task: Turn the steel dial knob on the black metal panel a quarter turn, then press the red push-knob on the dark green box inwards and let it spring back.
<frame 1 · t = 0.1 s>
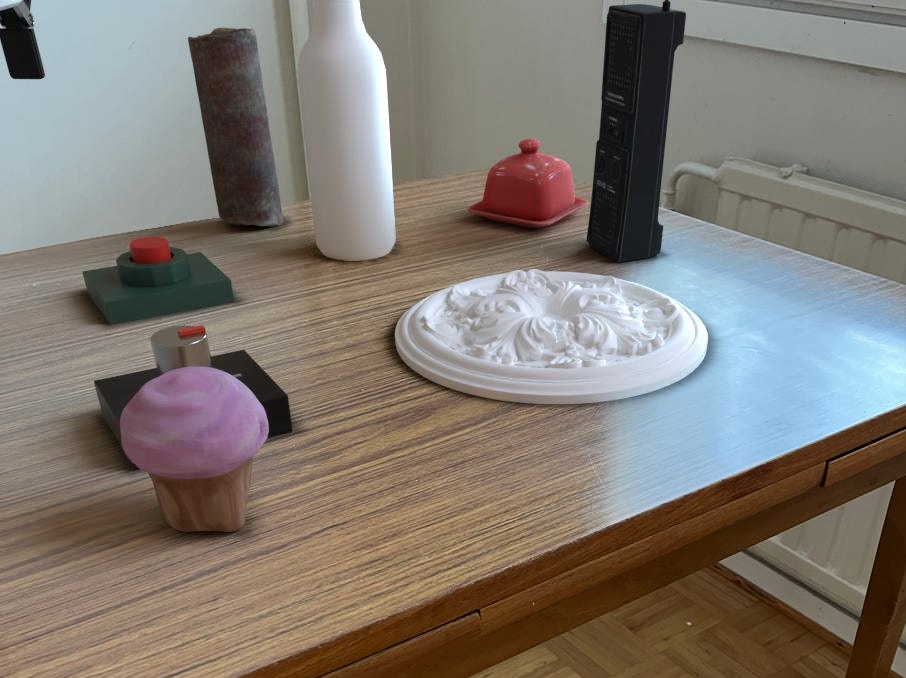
hand: (4, 88, 88), 18 cm above the table, tool pointing down, fingers open, 9 cm apart
cupcake: (214, 519, 65), on the table
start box: (160, 297, 97), on the table
white bottle: (356, 251, 109), on the table
candle: (251, 226, 116), on the table
portable radio: (619, 252, 108), on the table
dial: (183, 359, 72), point 5 cm above the table, hinge at 0.0°
dial panel: (196, 424, 76), on the table
butter dish: (528, 218, 118), on the table
button: (150, 251, 94), point 4 cm above the table, slide at 0.1 cm
ceiling medallion: (549, 338, 89), on the table
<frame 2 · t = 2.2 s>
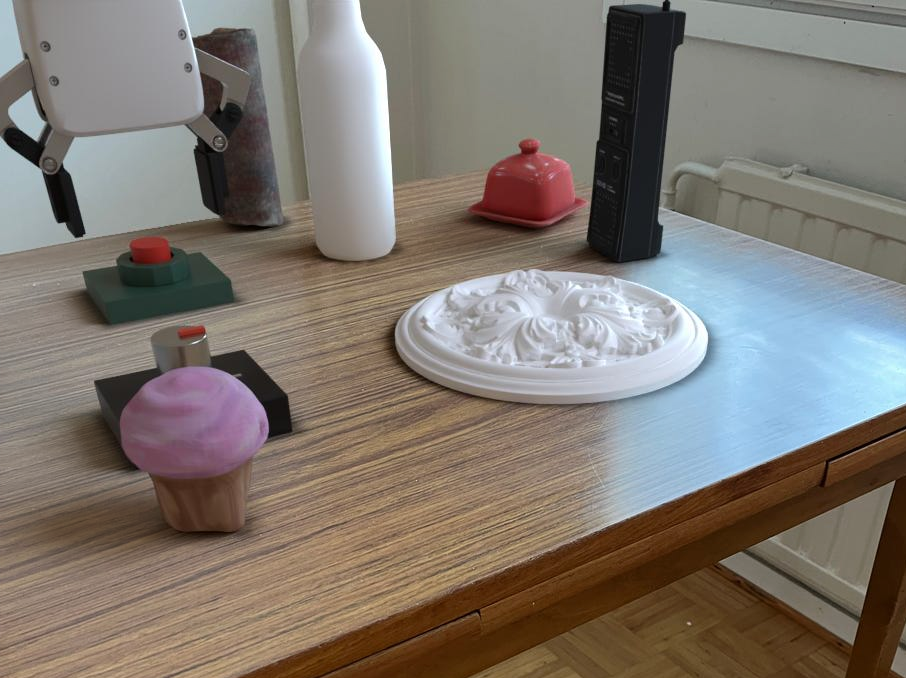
hand: (147, 221, 68), 14 cm above the table, tool pointing down, fingers open, 9 cm apart
nothing on the table moved.
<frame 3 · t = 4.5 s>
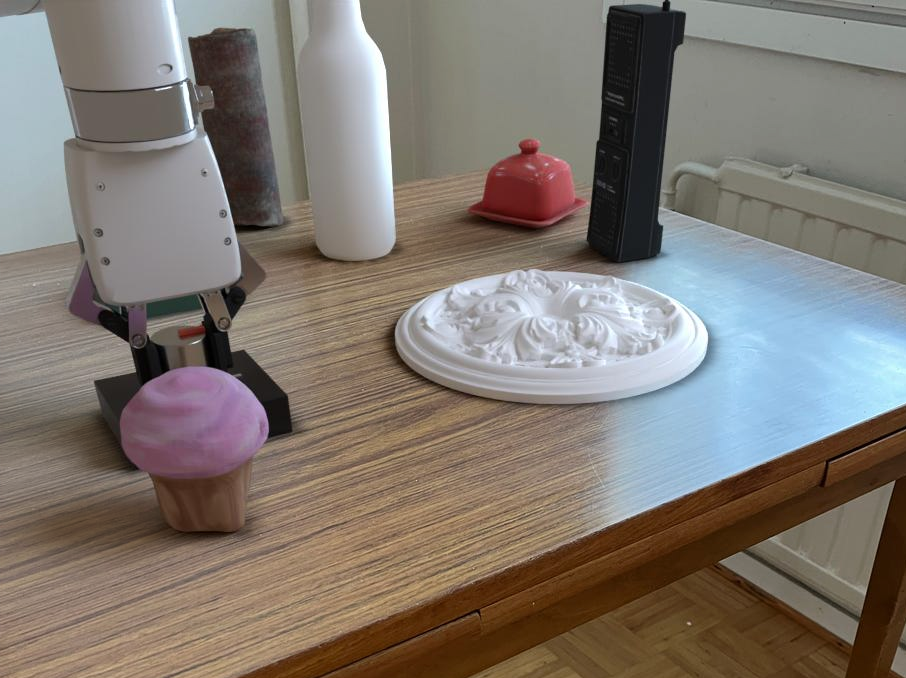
hand: (188, 383, 73), 3 cm above the table, tool pointing down, fingers closed on dial, 4 cm apart
dial: (183, 359, 72), point 5 cm above the table, hinge at 0.1°, touching gripper
everything else where it was.
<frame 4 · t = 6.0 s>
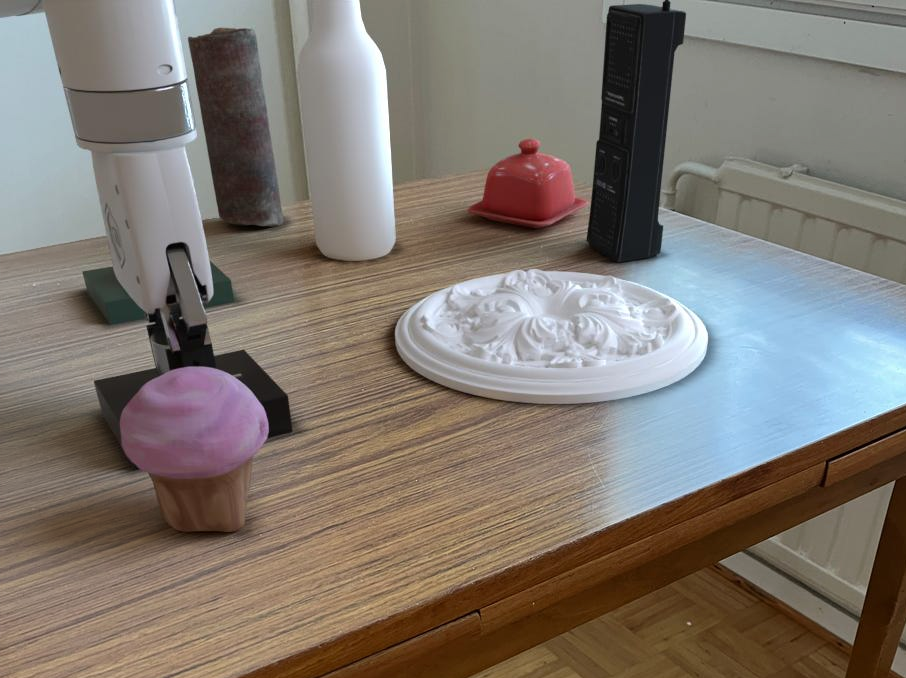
hand: (188, 383, 73), 3 cm above the table, tool pointing down, fingers open, 4 cm apart
dial: (183, 359, 72), point 5 cm above the table, hinge at 91.5°
everything else where it was.
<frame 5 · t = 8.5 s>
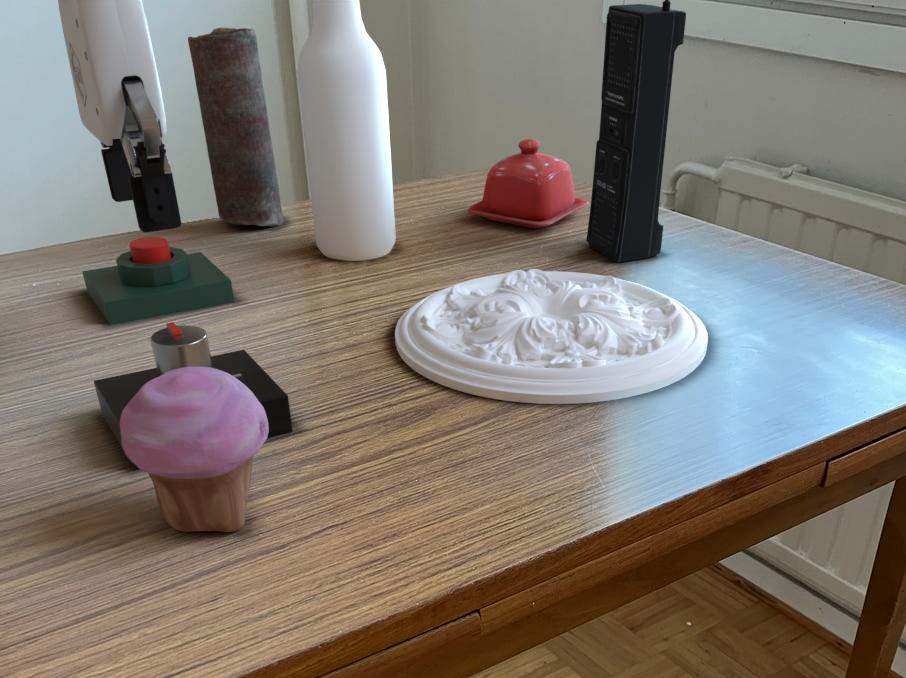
hand: (146, 213, 80), 11 cm above the table, tool pointing down, fingers open, 9 cm apart
nothing on the table moved.
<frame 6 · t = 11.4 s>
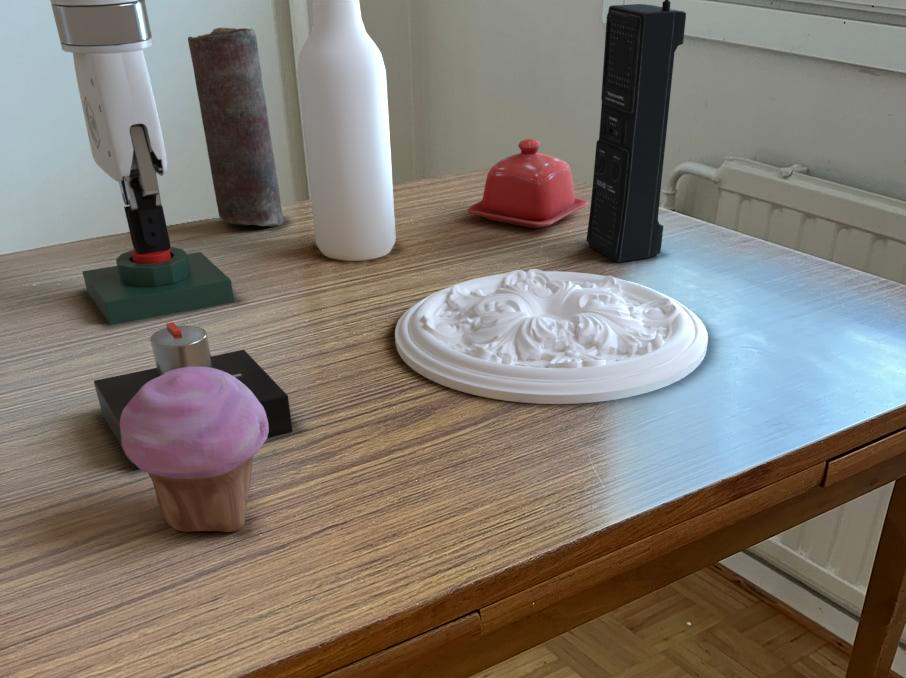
hand: (152, 249, 94), 5 cm above the table, tool pointing down, fingers closed
button: (152, 259, 95), point 4 cm above the table, slide at -0.6 cm, touching gripper
everything else where it was.
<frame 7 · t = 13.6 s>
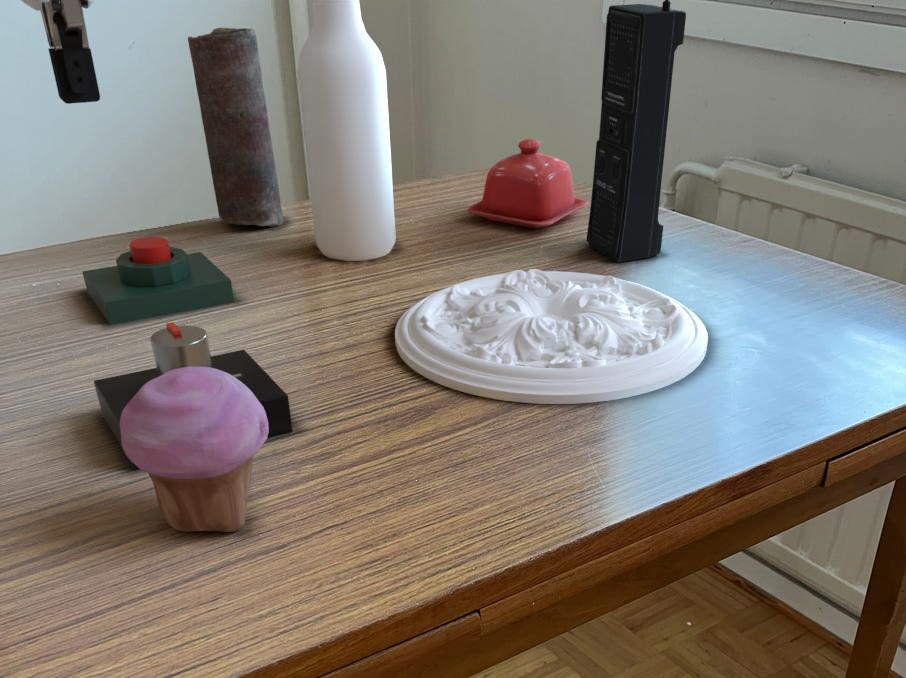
hand: (80, 100, 86), 17 cm above the table, tool pointing down, fingers closed
button: (150, 251, 94), point 4 cm above the table, slide at 0.1 cm
everything else where it was.
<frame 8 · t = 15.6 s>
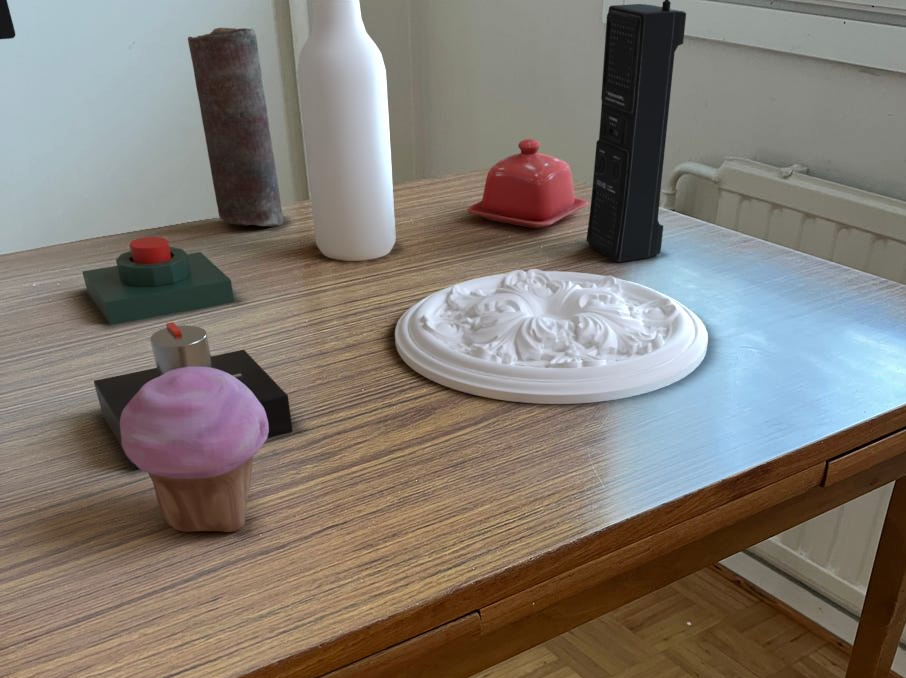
nothing on the table moved.
at the end: dial at +92° (first picture: +0°); button pushed in 1.1 cm at the most during the clip, back to where it started at the end; button slide at 0.1 cm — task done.
